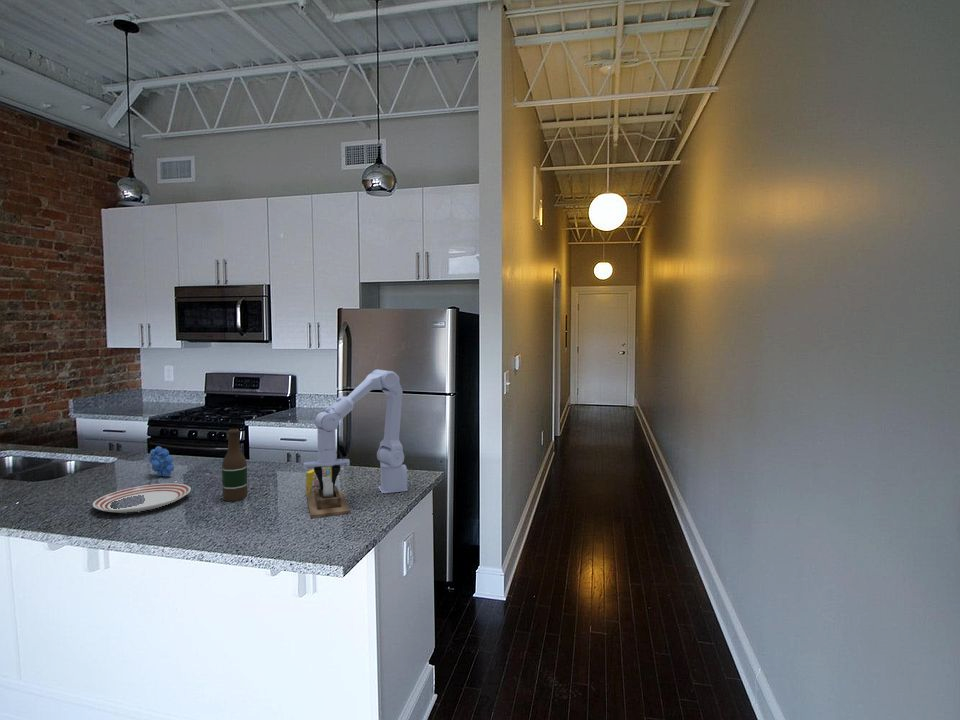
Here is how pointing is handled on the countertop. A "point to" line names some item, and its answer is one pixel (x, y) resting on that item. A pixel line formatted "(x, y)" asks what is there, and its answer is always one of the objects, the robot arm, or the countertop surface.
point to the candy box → (315, 479)
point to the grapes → (161, 461)
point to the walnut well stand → (327, 504)
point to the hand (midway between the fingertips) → (327, 488)
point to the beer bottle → (234, 470)
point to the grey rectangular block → (327, 487)
